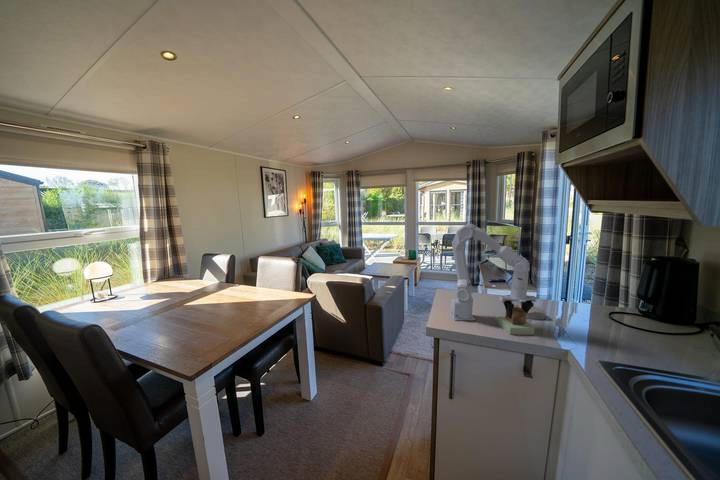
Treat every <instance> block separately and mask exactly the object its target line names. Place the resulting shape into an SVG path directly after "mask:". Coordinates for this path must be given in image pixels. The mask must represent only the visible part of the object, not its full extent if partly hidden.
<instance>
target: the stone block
mask: <svg viewBox="0 0 720 480" xmlns="http://www.w3.org/2000/svg"><path fill="white" fill-rule="evenodd" d="M514 307H520V308H521V303H517V304H514ZM528 319H530V321H536V320H537V319H538V320H539V321H540V320H545V319H546V312H545V311H544V310H543V309H542V308H539V307H536V306H535V305H533V307H532V308H531V309H530V310H529V311H528V313H527V315H526V320H528ZM538 320H537V321H538Z"/></svg>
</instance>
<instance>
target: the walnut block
mask: <svg viewBox="0 0 720 480" xmlns="http://www.w3.org/2000/svg"><path fill="white" fill-rule="evenodd" d="M526 315H527V312H525V311H524V310H523V309H521V308H520V307H515V306H514V307H513V310H512V316H511V318H509V317H508V316H507V312H506V311H505V316H504V317H505V318H506V319H508V320H509V321H510V322H511V323H512V324H526V321H527V319H526Z"/></svg>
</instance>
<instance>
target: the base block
mask: <svg viewBox="0 0 720 480" xmlns="http://www.w3.org/2000/svg"><path fill="white" fill-rule="evenodd" d="M497 324H498V325H499V326H500V327H501V328H502V329H503V330H504V331H505V332H506V333H508V335H509V336H510V335H511V336H512V335H513V336H514V335H518V336H521V335H522V336H523V335H527V336H528V335H532V336H533V335H535V329H536V328H535V326H533V325H532V324H531V323H529V322H528V321H527V320H526V324H512V323H511V322H510V321H509V320H508V319H506V318H505V316H497Z"/></svg>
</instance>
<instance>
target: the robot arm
mask: <svg viewBox="0 0 720 480" xmlns="http://www.w3.org/2000/svg"><path fill="white" fill-rule="evenodd" d="M470 239H472V240H473V241H481V242H482V243H484V244H485V245H487V247H489V248H490V249H492V250H493V251H494V252H496V257H498V258H499V259H500V260H502V261H503V262H504V263H505V264H506V265H508V266H509V267H512V271H513V273H512V276H511V277H512V278H511V287H510V294H505V295H499V301H500V302H502V303H503V306H504V309H505V313H506V312H507V316H508V317H509V318H511V316H512V310H513V307H515V304H514V303H513V302H521V303H520V304H521V309H523V310H524V311H525V312H527V313H528V311H529V310H530V309H531V308H532V307H533V305H534V303H537V299H538V297H536V296H535V295H527V293H528V285H529V273H530V270H531V267H530V262H529V259H528V260H527V258H526V257H524V256H523V255H522V254H520V255H519V254H518V253H517V252H515V251H514V250H513V249H514V248H513V247H511V246H507V245H501V244H500V243H499V242H497V240H496V239H494V238H493V237H491V236H490V234H488V233H486V231H484V230H482V228H480V227H478V226H477V225H475V224H474V223H467V224H464V225H462V226H461V227H459V228H458V229H457V231H456V233H455V235H454V237H453V239H452V241H451V247H452V255H453V258H454V264H455V272H456V278H457V279H456V280H457V282H456V292H455V296H456V298H451V299H450V307H449V315H450V316H451V317H452V319H453V320H454V321H476V318H475V317H474V316H473V308H474V307H473V305H474V298H473V296H472V295H473V294H474V291H475V289H474V286H473V285H472V283H471V279H470V277H469V276H470V275H469V272H468V271H469V270H468V265H467V258H466V250H465V246H464V245H465V244H467V242H468V241H469V240H470ZM534 306H535V305H534Z"/></svg>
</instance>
